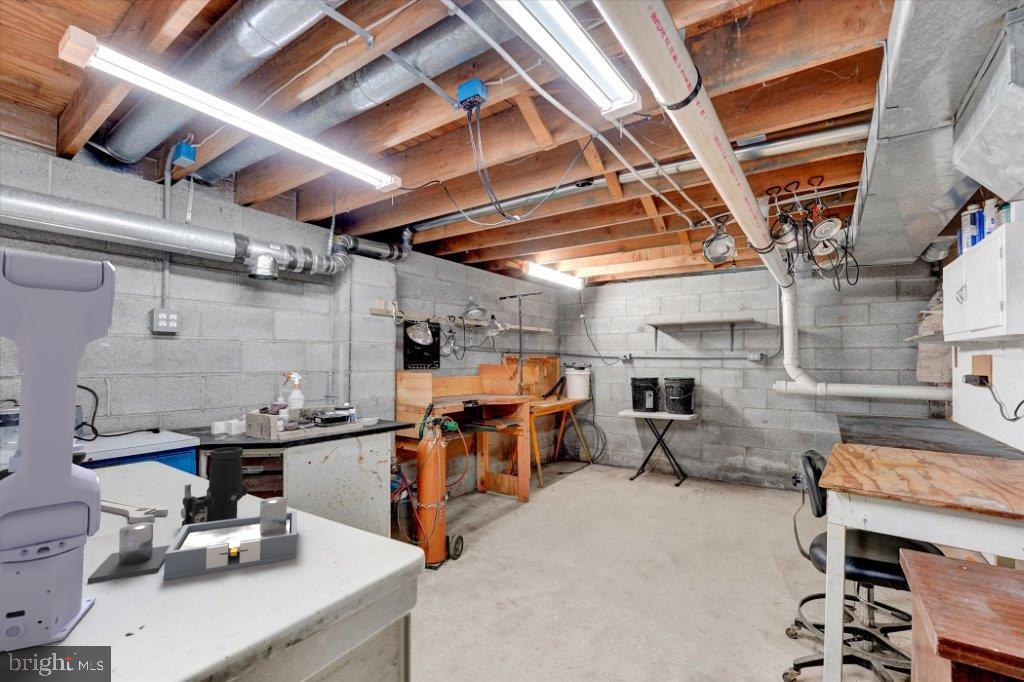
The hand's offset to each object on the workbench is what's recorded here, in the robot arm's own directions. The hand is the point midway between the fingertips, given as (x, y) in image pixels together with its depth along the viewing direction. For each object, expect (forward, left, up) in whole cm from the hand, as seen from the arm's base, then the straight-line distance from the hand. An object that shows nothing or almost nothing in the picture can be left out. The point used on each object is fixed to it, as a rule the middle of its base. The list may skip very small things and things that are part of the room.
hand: (43, 510), depth 66 cm
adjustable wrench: (+30, -1, -10) cm, 32 cm away
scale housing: (-2, -25, -9) cm, 27 cm away
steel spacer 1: (-1, -11, -9) cm, 14 cm away
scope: (+14, -20, -10) cm, 26 cm away
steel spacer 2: (-2, -30, -7) cm, 31 cm away
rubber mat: (-1, -11, -9) cm, 15 cm away
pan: (-3, -25, -7) cm, 26 cm away
